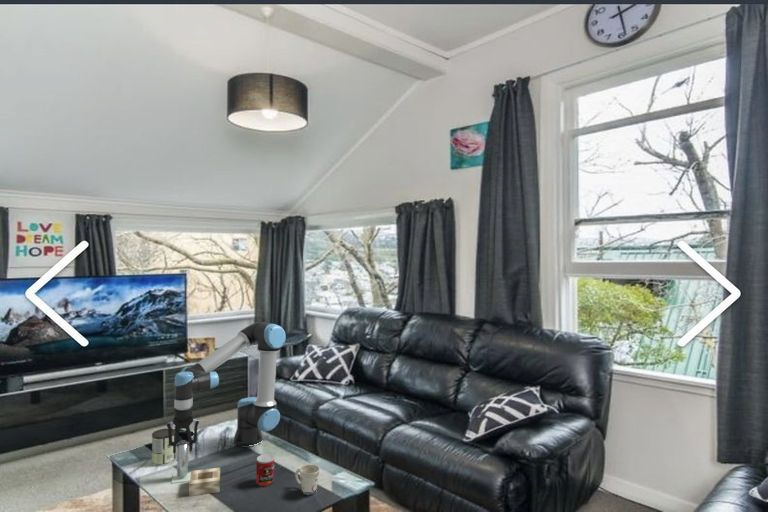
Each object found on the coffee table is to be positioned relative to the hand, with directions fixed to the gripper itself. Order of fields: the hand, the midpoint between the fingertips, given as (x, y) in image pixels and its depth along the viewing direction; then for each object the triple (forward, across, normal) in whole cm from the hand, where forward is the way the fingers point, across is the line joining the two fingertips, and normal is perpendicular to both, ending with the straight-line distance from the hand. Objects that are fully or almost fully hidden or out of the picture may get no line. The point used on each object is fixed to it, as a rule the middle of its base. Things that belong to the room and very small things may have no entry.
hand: (182, 459), depth 210 cm
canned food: (+9, -35, +14) cm, 39 cm away
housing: (+9, -10, +11) cm, 17 cm away
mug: (+9, -51, +26) cm, 58 cm away
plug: (+7, 0, 0) cm, 7 cm away
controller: (+9, +3, -36) cm, 37 cm away
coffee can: (+9, +10, -20) cm, 24 cm away
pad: (+9, 0, 0) cm, 9 cm away
